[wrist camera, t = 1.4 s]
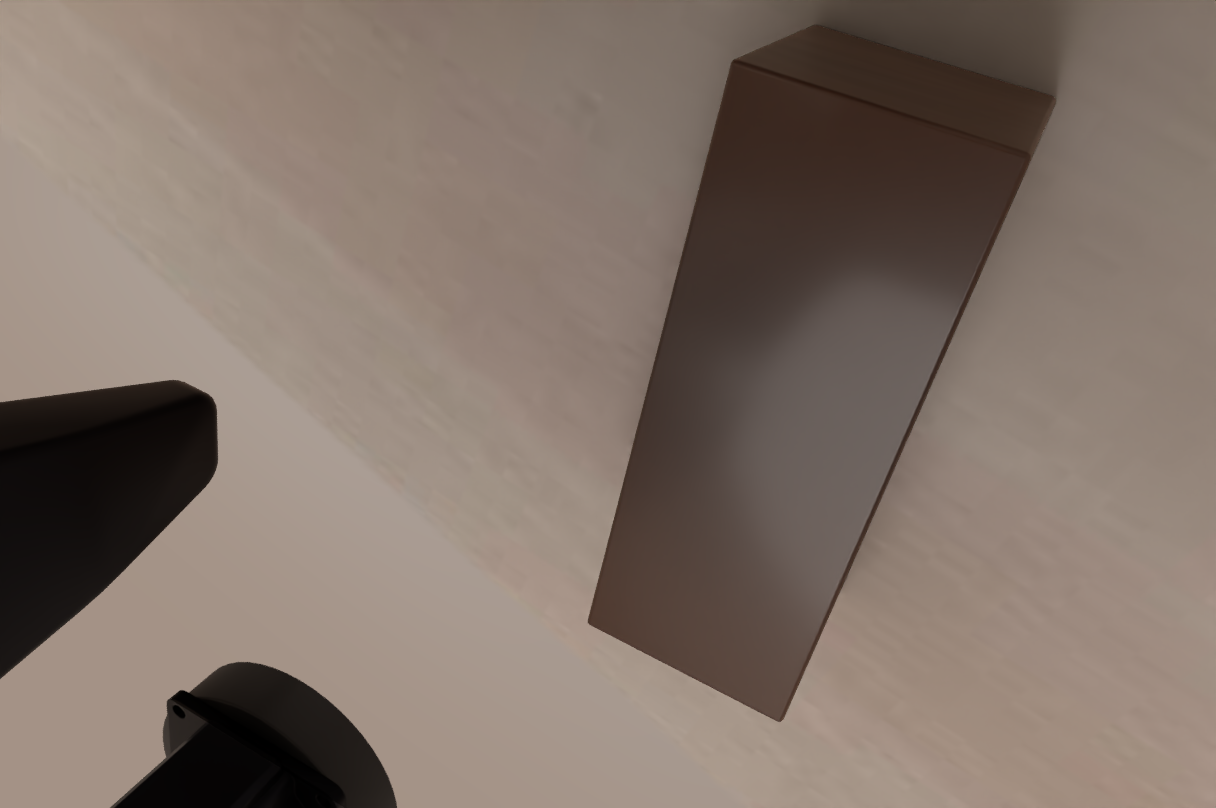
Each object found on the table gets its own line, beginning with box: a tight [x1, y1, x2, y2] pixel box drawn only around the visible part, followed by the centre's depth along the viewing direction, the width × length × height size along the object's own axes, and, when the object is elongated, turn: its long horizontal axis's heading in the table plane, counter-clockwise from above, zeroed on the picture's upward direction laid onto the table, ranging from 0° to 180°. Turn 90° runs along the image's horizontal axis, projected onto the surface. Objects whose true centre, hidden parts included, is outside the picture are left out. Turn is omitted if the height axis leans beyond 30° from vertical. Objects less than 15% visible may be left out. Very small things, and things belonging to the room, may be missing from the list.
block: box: [588, 25, 1056, 722], centre depth 13 cm, size 8×3×3 cm, turn 168°
